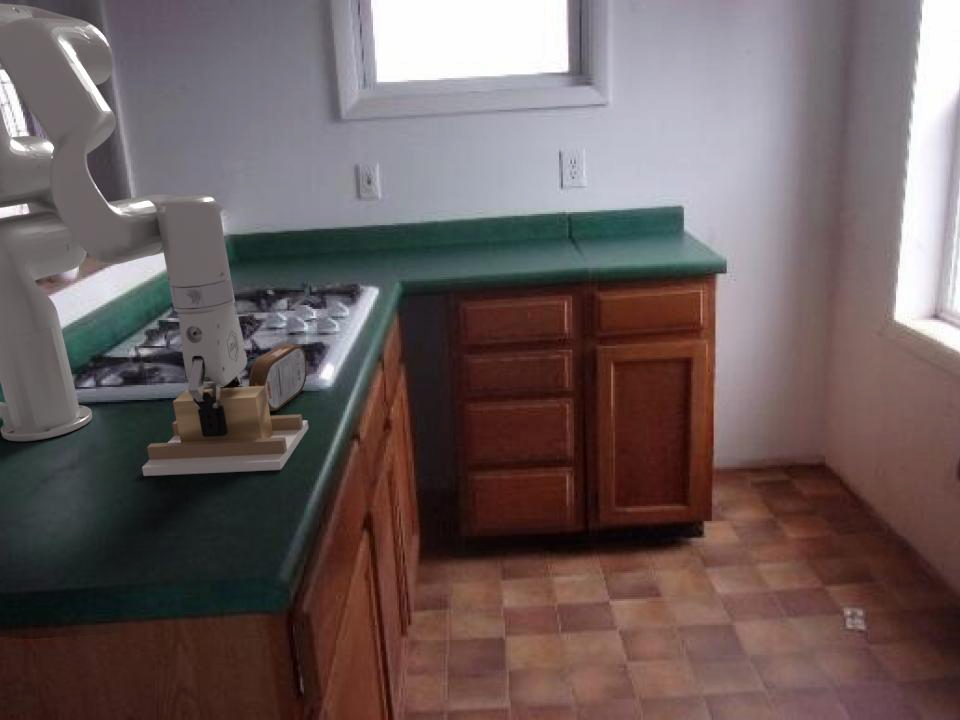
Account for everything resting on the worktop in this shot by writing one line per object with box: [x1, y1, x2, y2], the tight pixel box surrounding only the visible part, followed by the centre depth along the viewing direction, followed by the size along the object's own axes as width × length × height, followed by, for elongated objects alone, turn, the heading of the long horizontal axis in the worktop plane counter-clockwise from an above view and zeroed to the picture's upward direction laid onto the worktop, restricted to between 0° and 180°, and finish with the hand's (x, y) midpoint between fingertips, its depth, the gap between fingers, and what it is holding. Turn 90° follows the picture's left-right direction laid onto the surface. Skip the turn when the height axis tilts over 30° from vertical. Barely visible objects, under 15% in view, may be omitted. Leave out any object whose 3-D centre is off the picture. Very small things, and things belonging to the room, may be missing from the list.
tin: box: [248, 343, 308, 412], centre depth 133 cm, size 15×3×8 cm, turn 166°
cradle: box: [141, 413, 309, 477], centre depth 116 cm, size 18×14×3 cm
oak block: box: [172, 386, 273, 442], centre depth 115 cm, size 4×11×7 cm, turn 87°
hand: (225, 423), depth 115 cm, fingers open, 7 cm apart
